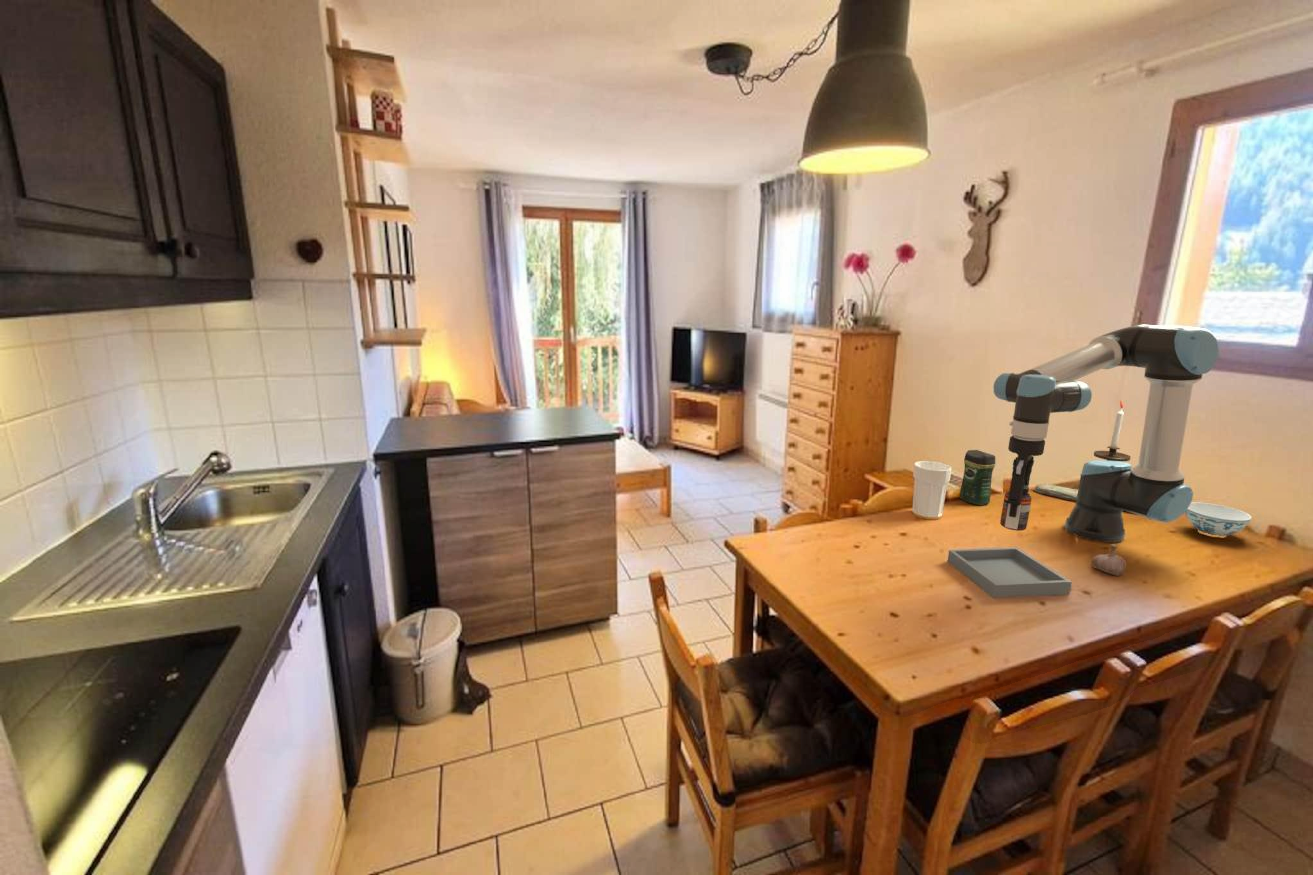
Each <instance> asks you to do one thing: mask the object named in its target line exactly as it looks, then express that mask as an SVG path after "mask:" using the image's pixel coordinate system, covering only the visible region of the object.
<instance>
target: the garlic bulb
mask: <svg viewBox="0 0 1313 875" xmlns="http://www.w3.org/2000/svg"><path fill="white" fill-rule="evenodd" d="M1116 550H1117V545H1115V544H1113V543H1112V544H1111V546H1110V549H1109V553H1107V554H1097V555H1095V556H1094V557H1093V558H1092V559H1091V561H1090V563H1091V565H1092V566H1093V568H1095V569H1097V570H1098V571H1102V572H1104V573H1106V574H1110V575H1112V576H1115V577H1120V576H1121V575H1123V574H1124V570H1125V568H1126V567H1127V566H1126V560H1125V559H1124V558H1123V557H1121V556H1119V555H1117V553H1116ZM1115 553H1116V554H1115Z"/></svg>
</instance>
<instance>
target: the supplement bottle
mask: <svg viewBox="0 0 1313 875" xmlns="http://www.w3.org/2000/svg"><path fill="white" fill-rule="evenodd" d="M1029 489H1030V487H1029V486H1026V485H1024V489H1023V494H1022V499H1021V510H1020V516H1019V522H1018V528H1017V530H1016V529H1012V528H1007V527H1005V521H1006V515H1007V509H1008V503H1005V500H1006V501H1007V500H1008V497H1009V491H1010V489H1009V490H1008V491H1006V492H1005V493H1004V497H1003V502H1002V510H1001V515H1000V521H999V524H1000V525H1001V526H1002V527H1003V528H1005V529H1007V530H1011V531H1019V532H1020V531H1021V532H1022V531H1025V530H1026V529H1027V526H1028V522H1029V516H1030V511H1031V505H1032V496H1031V494H1030V493H1029ZM1029 494H1030V495H1029Z"/></svg>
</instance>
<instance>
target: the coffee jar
mask: <svg viewBox="0 0 1313 875" xmlns="http://www.w3.org/2000/svg"><path fill="white" fill-rule="evenodd" d="M963 461H964V463H963V464H964V471H963V476H962V480H961V481H962V482H961V486H960V490H959V498H960V500H962V501H965V502H967V503H968V504H969V503H970V504H973V505H978V506H979V505H980V506H985V505H988V504H990V502H991V491H992V479H993V478H992V477H993V471H994V469H995V466H996V456H995V454H991V453H989V452H988V453H987V452H985V451H981V450H978V449H969V450H967V451H966V453H965V456H964V460H963Z"/></svg>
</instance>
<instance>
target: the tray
mask: <svg viewBox="0 0 1313 875" xmlns="http://www.w3.org/2000/svg"><path fill="white" fill-rule="evenodd" d="M947 563H948V564H950V565H951V566H953V568H955V569H957V571H959V572H960V573H961V574H962V575H964V576H965V577H967V578H968V579H969V580H970V581H972V582H973V583H974V584H975V585H976V586H977V587H979V588H980V589H981V590H983V591H984V592H985V593H987V594H988V595H989V596H990V597H992V598H993V599H1002V598H1003V599H1004V598H1005V599H1006V598H1019V597H1020V598H1021V597H1023V598H1024V597H1044V596H1047V597H1048V596H1049V597H1050V596H1066V595H1068V596H1069V595H1070V593H1071V588H1072V581H1071V580H1070V579H1068V578H1066V577H1065V576H1064V575H1062V574H1060V573H1059V572H1057V571H1055V570H1054V569H1052V568H1050V567H1049V566H1047V565H1046V564H1045V563H1043V562H1040V561H1039V560H1037V559H1036V558H1034V557H1033V556H1031V555H1029V554H1028V553H1027V552H1025V551H1023V550H1021V549H1020V548H1018V547H1015V546H1013V547H992V548H990V547H989V548H970V549H969V548H966V549H948V555H947Z"/></svg>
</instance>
